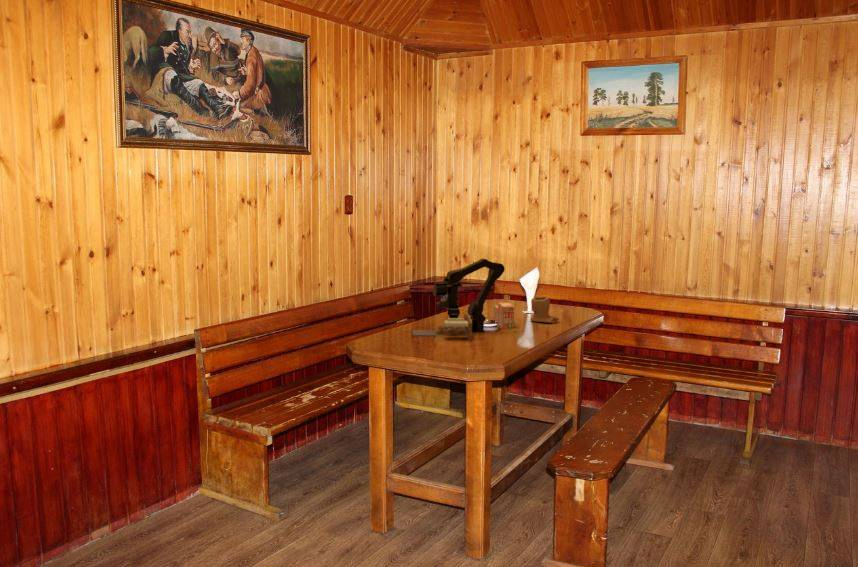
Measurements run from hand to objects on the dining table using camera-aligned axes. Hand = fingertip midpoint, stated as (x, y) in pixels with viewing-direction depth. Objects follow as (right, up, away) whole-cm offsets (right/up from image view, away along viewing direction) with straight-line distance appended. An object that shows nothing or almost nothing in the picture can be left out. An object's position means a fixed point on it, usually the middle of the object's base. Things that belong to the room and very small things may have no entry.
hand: (452, 324), depth 388 cm
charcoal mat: (-14, -5, -5) cm, 16 cm away
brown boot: (+53, -1, +35) cm, 64 cm away
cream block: (0, -4, +1) cm, 4 cm away
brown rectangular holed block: (+1, -5, -6) cm, 8 cm away
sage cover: (+2, +1, -16) cm, 16 cm away
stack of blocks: (+30, -2, +27) cm, 40 cm away
